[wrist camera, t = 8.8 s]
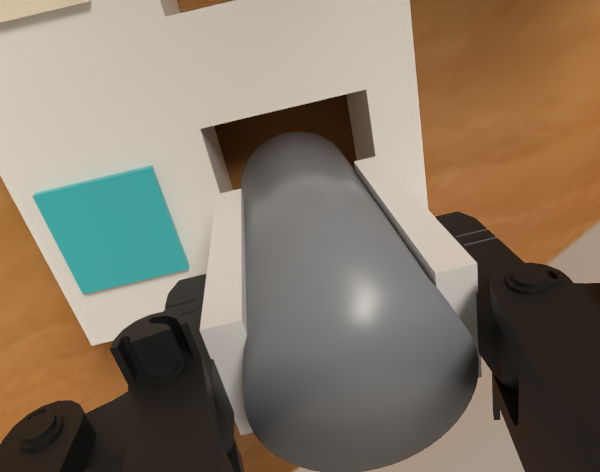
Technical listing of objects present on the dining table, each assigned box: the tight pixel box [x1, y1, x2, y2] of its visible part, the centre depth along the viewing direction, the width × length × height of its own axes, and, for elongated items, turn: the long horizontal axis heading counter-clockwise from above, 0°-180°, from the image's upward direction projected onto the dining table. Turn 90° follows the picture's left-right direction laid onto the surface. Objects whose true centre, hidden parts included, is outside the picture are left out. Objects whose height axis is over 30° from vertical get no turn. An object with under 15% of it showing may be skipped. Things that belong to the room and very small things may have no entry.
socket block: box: [0, 0, 428, 346], centre depth 16 cm, size 14×18×4 cm
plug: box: [241, 131, 479, 472], centre depth 12 cm, size 4×4×10 cm
